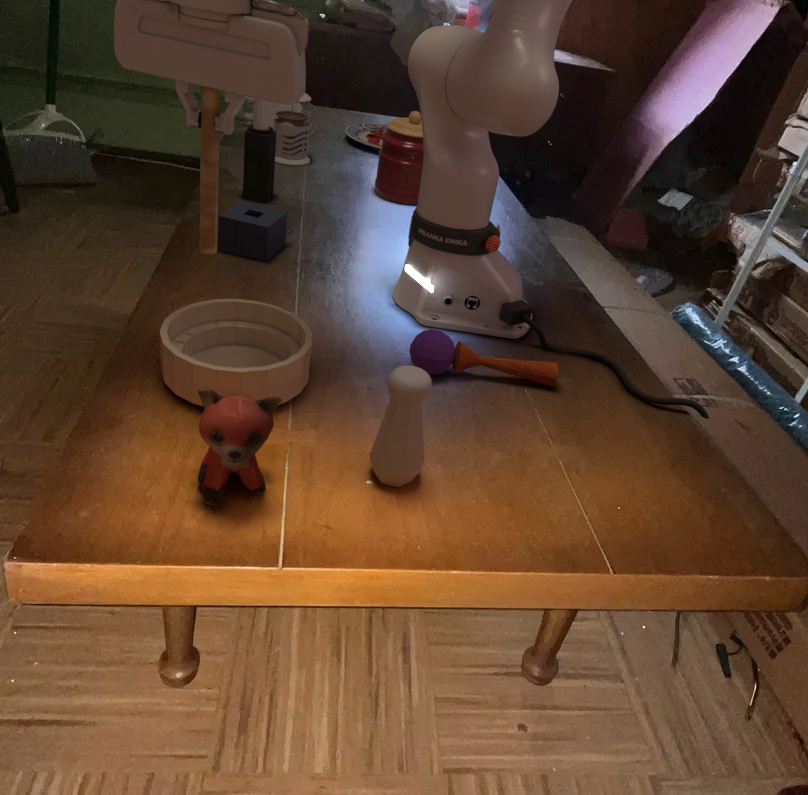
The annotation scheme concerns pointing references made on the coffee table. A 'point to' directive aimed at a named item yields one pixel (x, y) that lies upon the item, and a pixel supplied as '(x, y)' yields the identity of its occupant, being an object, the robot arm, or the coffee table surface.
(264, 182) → the black and white bottle
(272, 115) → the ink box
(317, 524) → the coffee table surface
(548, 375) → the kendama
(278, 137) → the french press
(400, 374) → the salt shaker
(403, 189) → the kitchen canister
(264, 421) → the stuffed fox
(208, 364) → the bowl
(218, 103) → the stick
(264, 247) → the stand
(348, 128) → the ceramic plate
